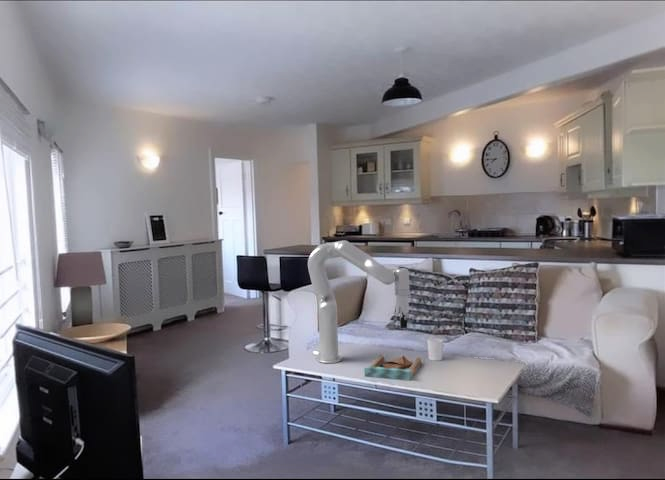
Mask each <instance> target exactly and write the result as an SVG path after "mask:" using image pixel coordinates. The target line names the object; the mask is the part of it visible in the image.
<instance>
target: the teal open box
mask: <svg viewBox="0 0 665 480" xmlns="http://www.w3.org/2000/svg"><path fill="white" fill-rule="evenodd" d="M384 362H385V355H383V354H382V355H379V356H377V358H376V359H375V360H374V361H373V362H372V363H371V364H370V365H365V367H364V368H363V369H364V370H363V371H364V377H366V378H367V377H368V378H375V379H376V378H379V379H388V380H389V379H390V380H398V381H410V380H411V379H412V378H413V376H414V374H416V372H417V370H418V369H419V367H421V364H422V358H421V357H416V359H415V360H414V362H412V363H413V364H412V366H411V367H408V368H409V369H408V368H405V369H396V368H384V367H380V366H381V364H382V363H384Z"/></svg>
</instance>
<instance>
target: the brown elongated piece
mask: <svg viewBox="0 0 665 480" xmlns="http://www.w3.org/2000/svg"><path fill="white" fill-rule="evenodd" d="M413 363H414V362H412V361H410V360H409V359H407V358H406V357H405V356H404V355H402V356H401V357H398V358H395V359H392V360H389V361H383V362H382V363H381V364H380V365H379V367H384V368H396V369H408V368H410V367H411V366H412V364H413Z"/></svg>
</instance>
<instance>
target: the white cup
mask: <svg viewBox="0 0 665 480" xmlns="http://www.w3.org/2000/svg"><path fill="white" fill-rule="evenodd" d="M426 342H427V344H426V345H427V353H428V360H430V361H432V360H433V361H435V362H438V361H439V362H440V361H442V360H443V349H444V348H443V347H444V346H443V345H444V344H443V343H444V339H442V338H439V337H430V338H427V339H426Z"/></svg>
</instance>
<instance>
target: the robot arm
mask: <svg viewBox="0 0 665 480" xmlns="http://www.w3.org/2000/svg"><path fill="white" fill-rule="evenodd" d="M338 258H342V259H344V260H345V261H347V262H349V263H350V264H352V265H353V266H355V267H356V268H358V269H359V270H361V271H363V272H365V273H367V274H368V275H369V276H370V277H373V278H374V279H376V280H377V281H378V282H381V283H382V284H383V285H385V286H387V285H388V286H390V285H392V284H394V296H395V297H396V298H395V315H396V316H398V315H399V322H400V323H399V324H400V328H402V329H406V328H408V320H407V319H408V313H409V312H410V310H409V309H410V307H409V306H410V304H409V303H410V302H409V301H410V300H409V296H410V292H411V291H410V290H411V289H410V273H409V269H407V268H406V267H405V268H404V267H403V268H402V267H400V268H399V267H398V268H387V267H385V266H384V265H383V264H381V263H380V262H378V261H377V260H375V258H374V257H372V256H371V255H369V254H368V253H366V252H365V251H363V250H362V249H360V248H358V247H357V246H355V245H354V244H353V243H351V242H349V241H348V240H338V241H333V242H328V243H322V244H319V245H317V246H316V247H315V248H314V249H313V251H312V252H311V253H310V255H309V257H308V259H307V268H308V274H309V277H310V282H311V286H312V290H313V293H314V295H315V297H316V301H317V304H318V308H317V309H318V310H317V311H318V312H317V314H318V330H319V331H318V332H319V350H314V351H313V352H312V353H313V356H316V357H317V360H316V361H317V362H318V363H322V364H336V363H338V362H342V360H343V359H342V356H341V355H339V335H338V334H339V333H338V332H339V330H338V305H337V304H338V303H337V300H336V296H335V294H334V290H333V286H332V283H331V281H330V280H329V277H328V275H327V271H326V268H325V263H326V262H327V261H328V260H331V259H338Z"/></svg>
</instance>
